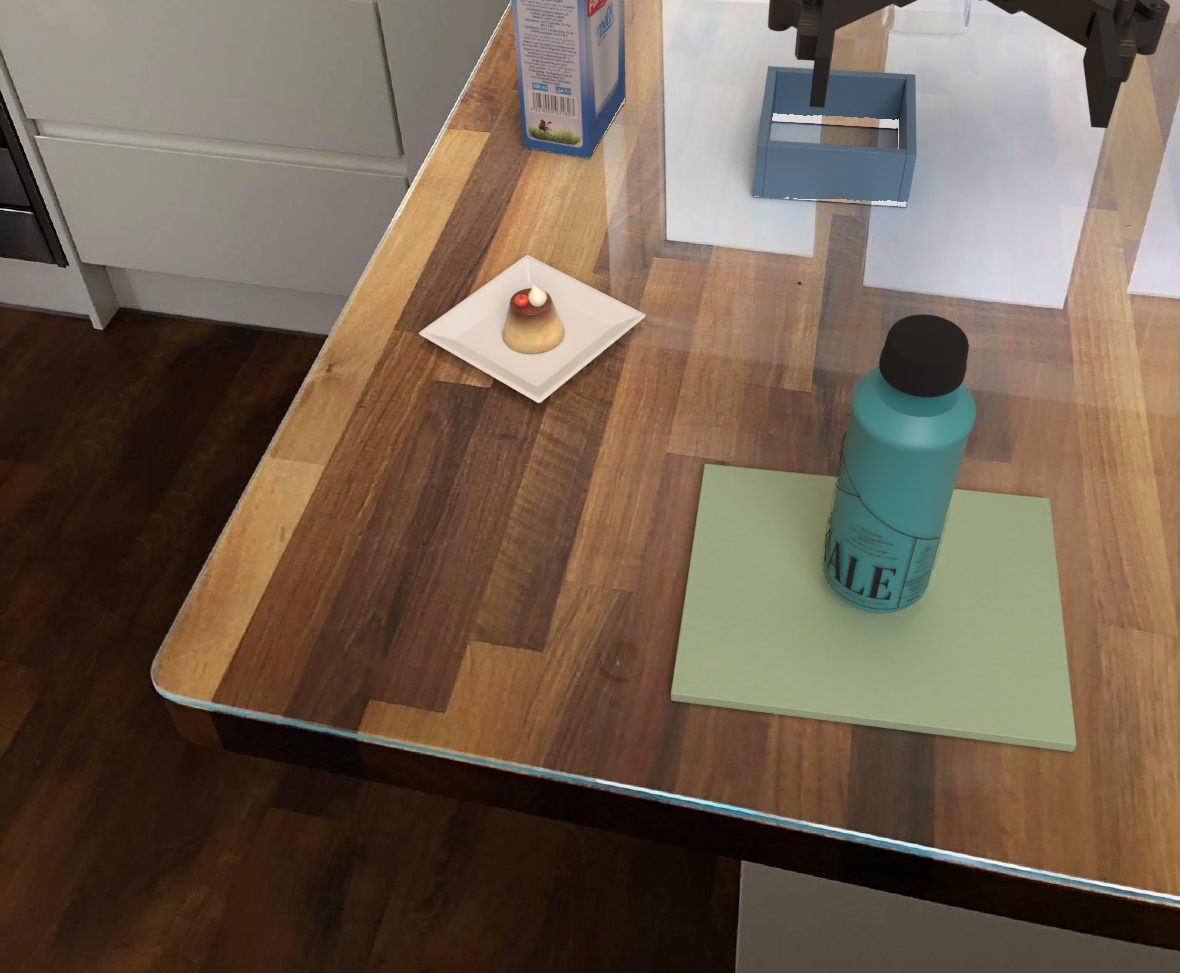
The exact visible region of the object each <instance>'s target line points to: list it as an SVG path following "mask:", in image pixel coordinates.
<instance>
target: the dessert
mask: <svg viewBox="0 0 1180 973" xmlns="http://www.w3.org/2000/svg"><path fill="white" fill-rule="evenodd" d="M646 316H647V315H646V313H644V312H642V311H639V310H638V309H636V308H633V307H632V306H630V305H627V304H626V303H624V302H622V301H620V300H618V299H616V298H614V297H612V296H610V295H608V294H606V293H604V292H602V291H600V290H598V289H596V288H594V287H592V286H590V285H588V284H586V283H585V282H583V281H580V280H579V279H576V278H574V277H572V276H570V275H568V274H567V273H565V272H563V271H561V270H558V269H557V268H555V267H554V266H551V265H549V264H547V263H545V262H544V261H541V260H539V259H537V258H535V257H533V256H531V255H529V254H525V255H524V256H522V257H521V258H519V259H518V260H517V261H516V262H515V263H513V264H511V265H510V266H509V267H507V268H506V269H505V270H503V271H502V272H500V273H498V275H496V276H495V277H493V278H492V279H491V280H489V281H488V282H487V283H485V284H484V285H482V286H481V287H480V288H478V289H477V290H476V291H474V292H473V293H471V294H470V295H469V296H467V297H466V298H464V299H463V300H462V301H460V302H459V303H457V304H456V305H455V306H454V307H452V308H450V310H448V311H446V312H445V313H444V314H442V315H441V316H439V317H438V318H436V320H434V321H432V323H430V324H428V325H427V326H425V327H424V328H423V329H421V330H420V331H419V332H418V335H419V336H421V337H423V338H425V339H427V340H428V341H430V342H432V343H433V344H435V345H437V346H439V347H440V348H442V349H444V350H446V351H447V352H449V353H451V354H452V355H454V356H456V357H458V358H459V359H461V360H463V361H464V362H466V363H468V364H469V365H471V366H473V367H475V368H477V369H478V370H480V371H482V372H483V373H485V374H487V375H489V376H490V377H491V378H494V379H496V380H497V381H499V382H501V383H502V384H504V385H506V386H508V387H510V389H511V388H512V389H513V390H515V391H516V392H518V393H520V394H522V395H524V396H525V397H527V398H528V399H530V400H533V401H534V402H536V403H538V404H540V403H543V402H544V400H545V399H547V398H548V397H550V396H551V395H552V394H553V393H554V392H555V391H557V390H558V389H559V388H560V387H562V386H563V385H564V384H565V383H566V382H568V381H569V380H570V379H572V377H574V376H575V375H576V374H578V373H579V372H580V371H581V370H582V369H583V368H585V367H586V366H587V365H588V364H589V363H591V362H592V361H593V360H594V359H596V358H597V357H598V356H599V355H601V354H602V353H603V352H604V351H605V350H607V349H608V348H609V347H610V346H612V345H613V344H614V343H615V342H617V341H618V340H619V339H621V337H623V336H624V335H625V334H626V333H627V332H629V331H630V330H631V329H633V328H634V327H635V326H636V325H637V324H638V323H640V322H641V321H643V319H644V318H646Z"/></svg>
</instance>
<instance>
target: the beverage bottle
mask: <svg viewBox="0 0 1180 973" xmlns="http://www.w3.org/2000/svg"><path fill="white" fill-rule="evenodd" d="M969 350H970V344H969V339H968V337H967V335H966V333H965V331H964V330H963V329H962V328H961V327H960V326H959V325H957V324H956V323H955V322H954V321H951V320H950V319H947V318H945V317H941V316H938V315H933V314H911V315H907V316H905V317H903V318H901V319H900V318H899V320H897V321H895V323H894V324H893V325H892V326H891V327H890V329H889V330H888V332H887V334H886V338H885V341H884V345H883V347H882V349H881V352H880V355H879V360H878V366H876V367H874V368H873V369H871V370H869V371H867V373H865V374H864V375H863V376H861V378H860V379H859V380H858V381H857V383H856V384H855V385H854V388H853V389H852V393H851V398H850V412H849V414H847V417H849V419H848V423H847V426H846V425H845V424H844V427H845V426H846V431H845V432H844V433H843V435H842V438H841V439H842V440H841V444H840V447H841V448H840V451H839V455H838V462H837V464H839V466H837V468H836V472H835V473H836V476H835V477H836V478H837V477H838V480H837V483H836V484H837V485H836V484H835V485H836V487H837V488H835V489H836V494H835V496H834V494H833V496H834V497H835V500H834V505H833V511H832V509H831V508H832V507H831V506H832V505H831V506H830V507H831V508H830V510H831V511H832V512H831V511H830V512H831V513H830V514H831V515H832V517H831V518H830V517H828V521H829V522H828V523H830V524H828V523H827V526H828V525H830V526H829V530H828V532H827V533H826V535H825V537H826V541H825V540H824V543H825V555H824V563H823V566H824V571H825V574H824V575H826V576H825V577H826V579H827V581H828V583H829V585H830V587H831V588H832V590H833V591H834V593H835V594H836V595H837V596H838V597H839V598H840V599H842V600H843V601H844V602H846V603H847V604H849V605H851V606H853V607H855V608H857V609H860V610H863V611H866V612H871V613H882V614H885V613H893V612H897V611H901V610H903V609H906V608H908V607H909V606H911V605H913V604H914V603H915V602H916V601H918V600H919V598H920V597H921V596H922V595H923V594H924V593H925V590H926V589H927V586H928V584H929V581H930V577H931V573H932V569H934V568H935V567H934V562H935V558H936V555H937V551H938V547H939V543H941V542H942V541H941V536H942V532H943V529H944V525H945V521H946V517H947V511H948V508H949V512H950V501H951V497H952V494H953V491H954V489H955V486H956V483H957V479H958V477H959V473H960V469H961V466H962V463H963V459H964V456H965V452H966V448H967V446H968V441H969V438H970V434H971V432H972V430H973V428H974V426H975V423H976V419H977V405H976V401H975V399H974V396H973V395H972V393H971V391H970V390H969V388H968V387H967V385H966V384H964V380H965V377H966V374H967V373H966V372H967V367H968V363H967V362H968V356H969ZM836 478H835V479H836ZM835 489H834V490H835ZM834 490H833V491H834ZM833 493H835V492H833ZM833 499H834V498H833ZM948 516H949V515H948ZM829 518H830V519H831V521H830V519H829ZM947 520H948V519H947ZM946 524H947V522H946ZM945 527H946V526H945ZM826 531H827V529H826ZM944 531H945V530H944ZM828 533H829V534H828ZM827 534H828V537H827ZM943 535H944V534H943ZM942 538H943V537H942ZM826 544H827V545H826ZM940 546H941V545H940ZM823 549H824V546H823ZM939 550H940V548H939ZM938 553H939V552H938ZM937 557H938V556H937ZM822 560H823V556H822V558H821V563H822ZM936 561H937V559H936ZM935 564H936V563H935ZM822 569H823V568H822ZM824 571H823V572H824ZM922 597H923V596H922Z"/></svg>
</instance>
